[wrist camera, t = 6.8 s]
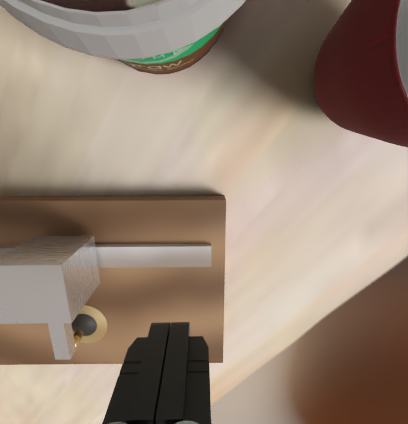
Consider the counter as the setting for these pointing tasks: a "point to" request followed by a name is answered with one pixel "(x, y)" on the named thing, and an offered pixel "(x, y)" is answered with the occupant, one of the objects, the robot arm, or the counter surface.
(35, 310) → the leg
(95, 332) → the hole board
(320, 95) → the mug
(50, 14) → the food container
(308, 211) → the counter surface
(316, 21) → the counter surface
